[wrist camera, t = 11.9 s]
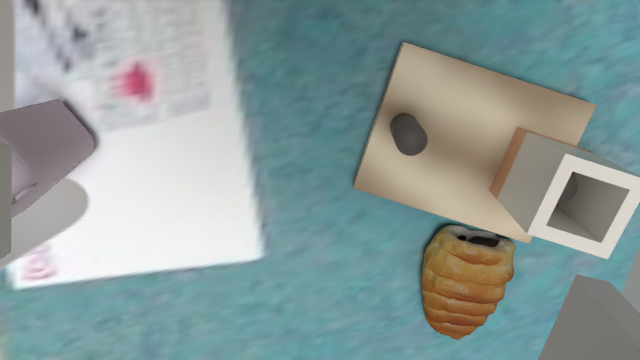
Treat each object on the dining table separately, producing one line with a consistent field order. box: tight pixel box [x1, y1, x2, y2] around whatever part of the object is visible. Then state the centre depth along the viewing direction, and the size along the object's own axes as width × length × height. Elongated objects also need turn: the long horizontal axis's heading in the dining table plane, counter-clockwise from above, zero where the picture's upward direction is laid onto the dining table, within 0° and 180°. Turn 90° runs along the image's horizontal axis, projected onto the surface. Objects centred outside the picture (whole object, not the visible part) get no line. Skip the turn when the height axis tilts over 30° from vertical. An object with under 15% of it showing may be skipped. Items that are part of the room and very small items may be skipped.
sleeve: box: [489, 127, 640, 259], centre depth 31 cm, size 5×5×8 cm
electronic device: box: [0, 100, 94, 218], centre depth 34 cm, size 10×5×10 cm, turn 127°
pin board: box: [353, 42, 596, 244], centre depth 33 cm, size 11×14×6 cm
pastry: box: [421, 225, 516, 340], centre depth 38 cm, size 9×7×4 cm
